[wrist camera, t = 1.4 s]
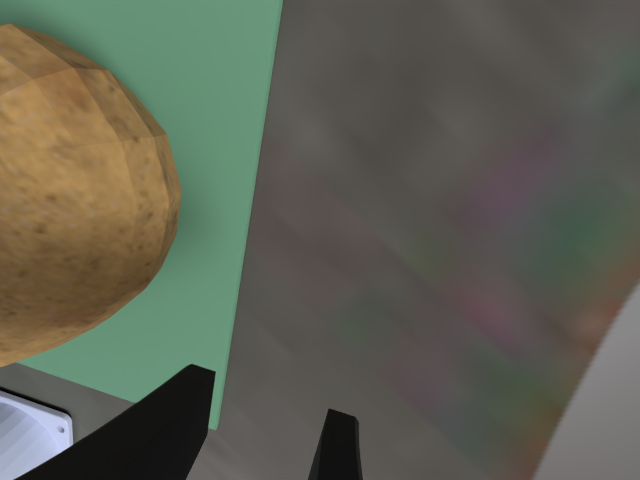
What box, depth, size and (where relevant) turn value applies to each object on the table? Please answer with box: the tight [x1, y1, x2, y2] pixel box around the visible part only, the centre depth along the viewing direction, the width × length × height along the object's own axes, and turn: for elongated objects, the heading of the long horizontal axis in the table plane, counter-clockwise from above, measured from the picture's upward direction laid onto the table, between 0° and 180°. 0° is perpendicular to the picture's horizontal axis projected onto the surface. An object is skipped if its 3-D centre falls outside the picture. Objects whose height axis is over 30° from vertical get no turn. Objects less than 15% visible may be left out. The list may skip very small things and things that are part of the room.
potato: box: [0, 23, 182, 367], centre depth 15 cm, size 10×14×8 cm
